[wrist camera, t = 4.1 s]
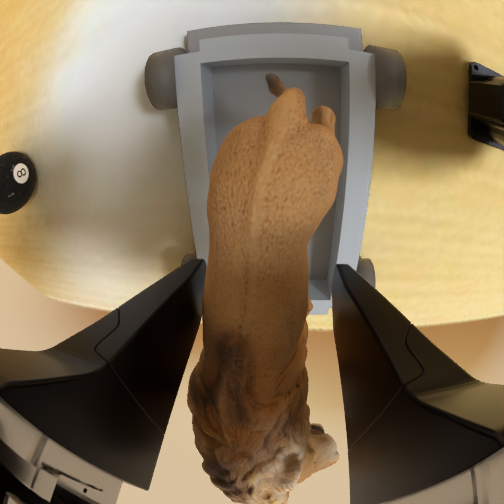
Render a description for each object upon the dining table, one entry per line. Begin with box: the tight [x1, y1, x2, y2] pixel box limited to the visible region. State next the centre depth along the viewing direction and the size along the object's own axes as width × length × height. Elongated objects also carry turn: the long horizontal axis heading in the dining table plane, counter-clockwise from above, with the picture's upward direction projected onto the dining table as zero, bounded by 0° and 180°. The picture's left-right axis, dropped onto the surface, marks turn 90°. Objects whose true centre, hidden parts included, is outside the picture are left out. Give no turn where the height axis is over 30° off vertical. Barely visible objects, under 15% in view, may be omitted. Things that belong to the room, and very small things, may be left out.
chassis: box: [145, 22, 406, 315], centre depth 17 cm, size 14×22×4 cm, turn 2°
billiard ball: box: [0, 152, 35, 214], centre depth 17 cm, size 6×6×6 cm
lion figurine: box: [187, 73, 343, 504], centre depth 8 cm, size 15×5×9 cm, turn 6°
